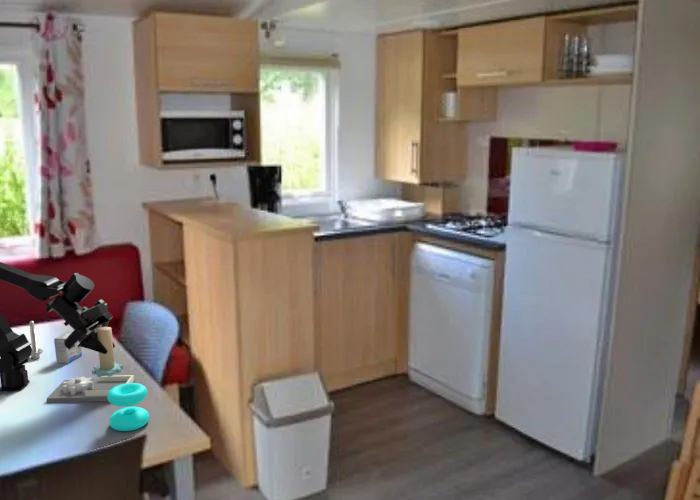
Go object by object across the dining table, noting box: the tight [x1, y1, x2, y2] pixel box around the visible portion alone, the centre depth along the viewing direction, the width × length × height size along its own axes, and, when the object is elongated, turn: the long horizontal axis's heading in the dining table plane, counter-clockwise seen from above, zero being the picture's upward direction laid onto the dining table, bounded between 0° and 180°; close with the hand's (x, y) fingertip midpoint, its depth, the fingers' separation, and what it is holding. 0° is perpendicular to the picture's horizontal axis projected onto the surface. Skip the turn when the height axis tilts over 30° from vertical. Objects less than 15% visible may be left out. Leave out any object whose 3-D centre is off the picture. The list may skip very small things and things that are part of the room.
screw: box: [29, 320, 44, 360], centre depth 220 cm, size 13×5×5 cm
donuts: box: [107, 382, 150, 432], centre depth 173 cm, size 10×10×10 cm
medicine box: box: [53, 330, 83, 365], centre depth 219 cm, size 8×4×9 cm, turn 168°
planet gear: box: [91, 326, 124, 378], centre depth 191 cm, size 8×8×13 cm
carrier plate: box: [46, 374, 136, 403], centre depth 193 cm, size 21×13×4 cm, turn 92°
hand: (110, 350), depth 191 cm, fingers closed on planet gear, 4 cm apart
